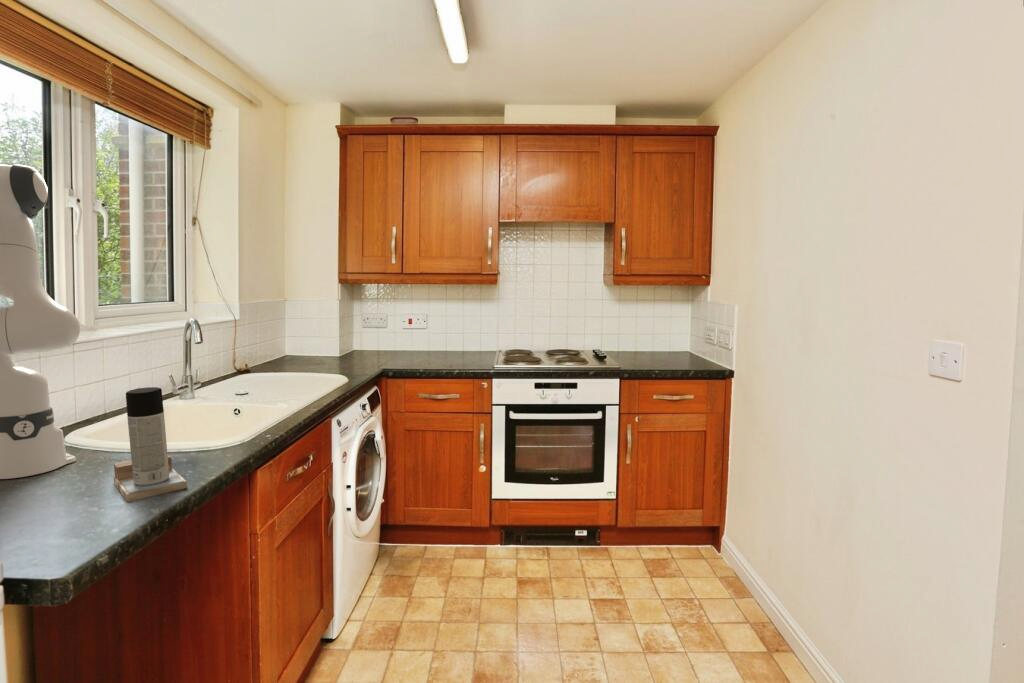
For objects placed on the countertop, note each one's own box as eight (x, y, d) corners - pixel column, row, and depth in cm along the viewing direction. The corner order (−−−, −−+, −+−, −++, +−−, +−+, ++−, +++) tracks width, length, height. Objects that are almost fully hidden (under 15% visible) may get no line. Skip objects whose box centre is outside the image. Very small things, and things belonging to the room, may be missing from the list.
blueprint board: (114, 483, 131) (112, 463, 131) (169, 471, 139) (168, 452, 138) (127, 501, 120) (125, 480, 120) (187, 487, 128) (185, 467, 127)
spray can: (175, 475, 131) (168, 386, 128) (159, 486, 124) (150, 392, 122) (145, 476, 130) (136, 387, 128) (126, 487, 124) (117, 393, 121)
